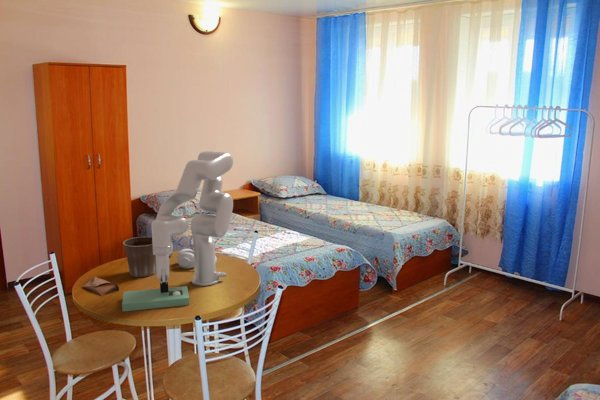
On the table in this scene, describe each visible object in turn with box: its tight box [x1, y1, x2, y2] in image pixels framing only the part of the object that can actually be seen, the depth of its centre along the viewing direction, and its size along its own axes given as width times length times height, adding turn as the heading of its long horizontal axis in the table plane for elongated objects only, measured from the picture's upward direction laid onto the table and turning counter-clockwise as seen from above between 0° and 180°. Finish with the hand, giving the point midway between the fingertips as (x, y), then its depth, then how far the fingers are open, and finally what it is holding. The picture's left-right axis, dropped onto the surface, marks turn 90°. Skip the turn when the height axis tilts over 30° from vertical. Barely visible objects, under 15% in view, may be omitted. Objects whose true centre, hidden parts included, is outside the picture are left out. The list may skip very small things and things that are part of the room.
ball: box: [172, 291, 181, 296], centre depth 220 cm, size 4×4×4 cm
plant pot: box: [122, 236, 156, 278], centre depth 250 cm, size 16×16×16 cm
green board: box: [121, 285, 190, 313], centre depth 217 cm, size 26×14×3 cm, turn 105°
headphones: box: [176, 248, 218, 269], centre depth 265 cm, size 18×8×20 cm
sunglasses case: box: [80, 275, 120, 297], centre depth 232 cm, size 18×7×7 cm, turn 53°
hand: (164, 291), depth 218 cm, fingers closed
